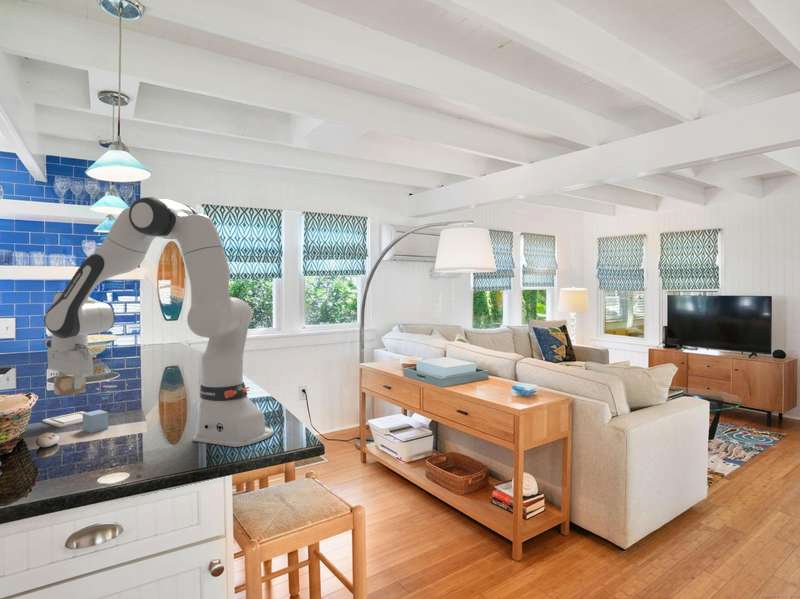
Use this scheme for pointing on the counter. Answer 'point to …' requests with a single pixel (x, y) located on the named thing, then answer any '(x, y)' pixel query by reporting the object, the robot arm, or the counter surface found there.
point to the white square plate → (65, 419)
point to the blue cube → (95, 421)
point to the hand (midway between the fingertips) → (70, 387)
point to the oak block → (67, 385)
